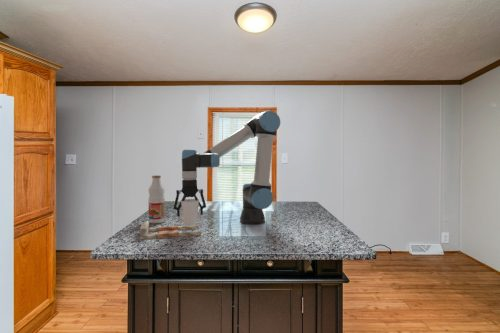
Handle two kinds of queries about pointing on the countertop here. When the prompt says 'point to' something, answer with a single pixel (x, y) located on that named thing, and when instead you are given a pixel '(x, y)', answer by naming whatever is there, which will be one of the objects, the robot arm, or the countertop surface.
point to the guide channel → (166, 231)
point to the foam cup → (190, 211)
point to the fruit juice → (156, 201)
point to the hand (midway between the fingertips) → (190, 221)
